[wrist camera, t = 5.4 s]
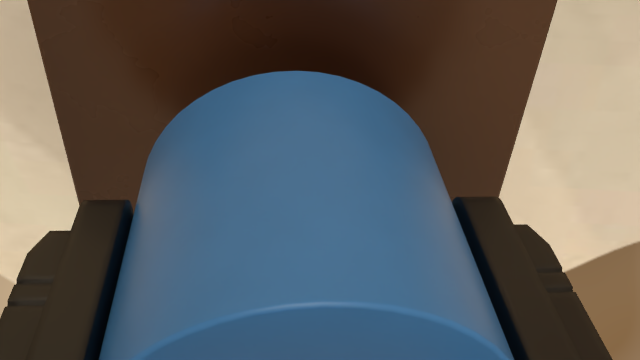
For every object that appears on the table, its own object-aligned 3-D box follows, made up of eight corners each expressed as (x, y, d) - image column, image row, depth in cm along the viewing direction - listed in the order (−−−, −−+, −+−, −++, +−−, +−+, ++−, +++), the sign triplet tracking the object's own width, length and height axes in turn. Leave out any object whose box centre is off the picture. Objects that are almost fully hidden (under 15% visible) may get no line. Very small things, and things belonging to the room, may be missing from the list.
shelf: (183, 255, 32) (150, 487, 22) (128, -188, 19) (2, -91, 10) (371, 251, 33) (416, 473, 23) (432, -173, 20) (581, -73, 11)
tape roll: (160, 300, 13) (116, 561, 9) (122, 66, 10) (27, 321, 6) (412, 293, 14) (477, 536, 10) (462, 70, 10) (594, 304, 6)
